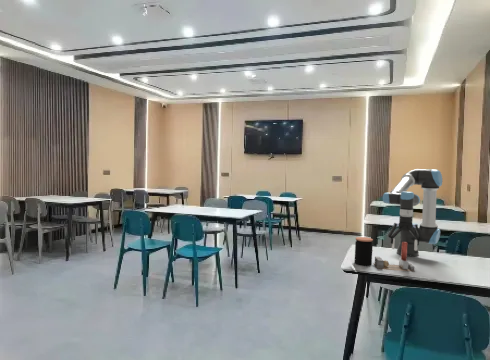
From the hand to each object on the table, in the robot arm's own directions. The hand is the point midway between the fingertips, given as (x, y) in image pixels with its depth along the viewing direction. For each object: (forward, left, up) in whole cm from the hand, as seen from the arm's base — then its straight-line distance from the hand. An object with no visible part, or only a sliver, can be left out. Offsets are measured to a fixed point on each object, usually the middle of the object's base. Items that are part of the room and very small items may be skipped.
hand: (404, 249), depth 229 cm
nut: (0, -11, -12) cm, 16 cm away
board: (0, -6, -13) cm, 15 cm away
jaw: (0, 0, -11) cm, 11 cm away
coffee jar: (-4, -24, -14) cm, 28 cm away
